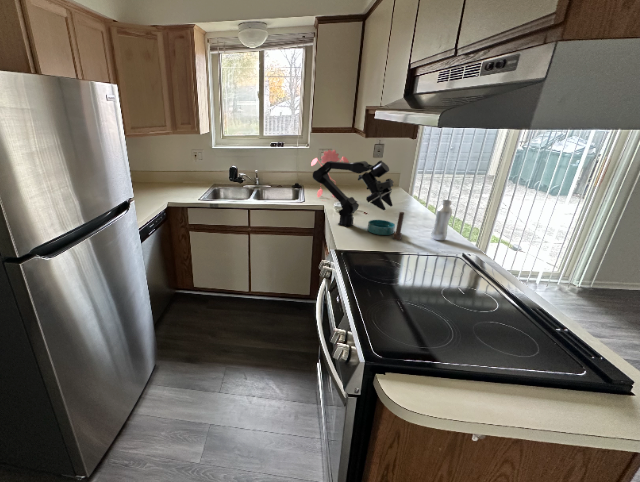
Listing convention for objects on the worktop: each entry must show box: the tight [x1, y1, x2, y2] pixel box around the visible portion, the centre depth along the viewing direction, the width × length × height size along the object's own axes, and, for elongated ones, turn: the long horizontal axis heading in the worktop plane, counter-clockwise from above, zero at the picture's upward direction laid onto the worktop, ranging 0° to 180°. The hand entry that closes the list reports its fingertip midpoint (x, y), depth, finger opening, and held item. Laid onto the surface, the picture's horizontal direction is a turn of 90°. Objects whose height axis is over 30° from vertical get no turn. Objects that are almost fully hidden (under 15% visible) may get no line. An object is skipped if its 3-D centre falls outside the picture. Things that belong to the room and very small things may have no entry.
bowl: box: [366, 219, 396, 236], centre depth 170 cm, size 13×13×4 cm
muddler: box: [392, 211, 405, 241], centre depth 159 cm, size 4×4×14 cm
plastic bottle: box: [430, 199, 453, 241], centre depth 156 cm, size 6×7×20 cm
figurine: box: [310, 149, 350, 202], centre depth 227 cm, size 15×26×35 cm, turn 76°
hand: (388, 208), depth 162 cm, fingers open, 9 cm apart
